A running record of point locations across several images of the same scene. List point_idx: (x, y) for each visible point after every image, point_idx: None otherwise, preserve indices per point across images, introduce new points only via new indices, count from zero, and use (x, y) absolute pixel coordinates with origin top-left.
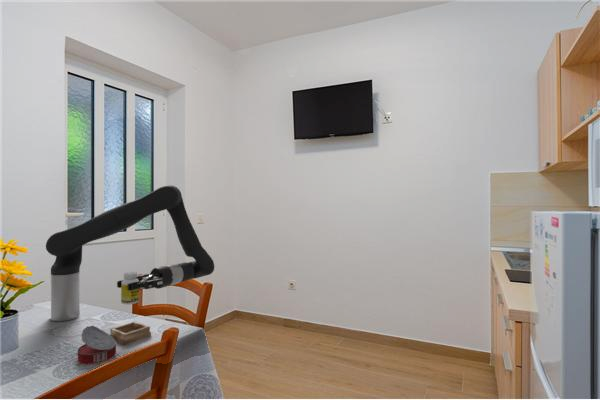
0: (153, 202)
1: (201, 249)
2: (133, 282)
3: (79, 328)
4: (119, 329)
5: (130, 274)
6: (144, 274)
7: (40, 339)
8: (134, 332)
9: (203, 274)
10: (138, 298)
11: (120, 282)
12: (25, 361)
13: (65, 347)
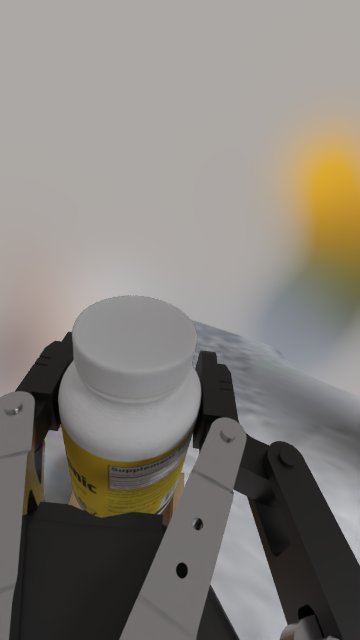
0: None
1: None
2: (71, 363)
3: (355, 496)
4: (171, 511)
5: (95, 303)
6: (155, 621)
7: (315, 400)
8: (69, 504)
9: None
10: (72, 485)
11: (200, 365)
12: (211, 342)
13: None
